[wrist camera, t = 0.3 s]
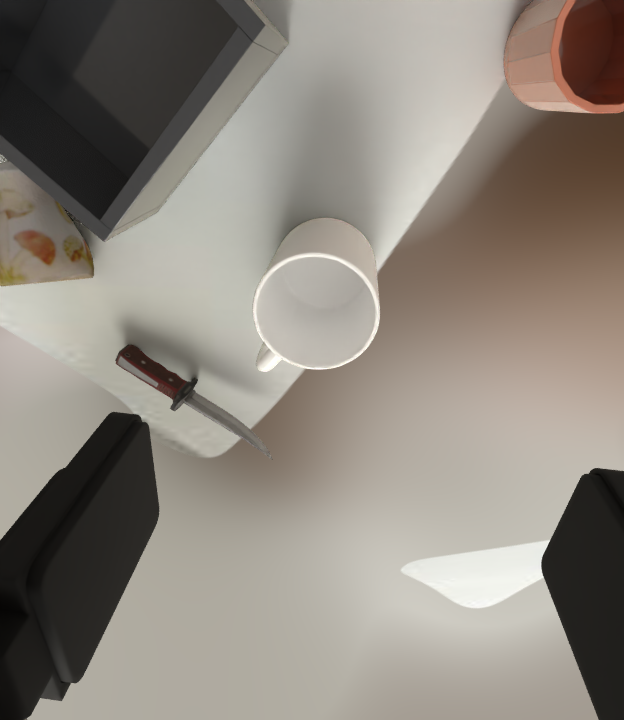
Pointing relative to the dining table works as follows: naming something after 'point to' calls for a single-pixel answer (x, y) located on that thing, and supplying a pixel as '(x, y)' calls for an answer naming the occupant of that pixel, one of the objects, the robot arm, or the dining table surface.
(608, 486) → the robot arm
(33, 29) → the dark grey open box
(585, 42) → the terracotta cup
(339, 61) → the dining table surface
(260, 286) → the cup
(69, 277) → the mug
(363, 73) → the dining table surface
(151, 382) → the knife
